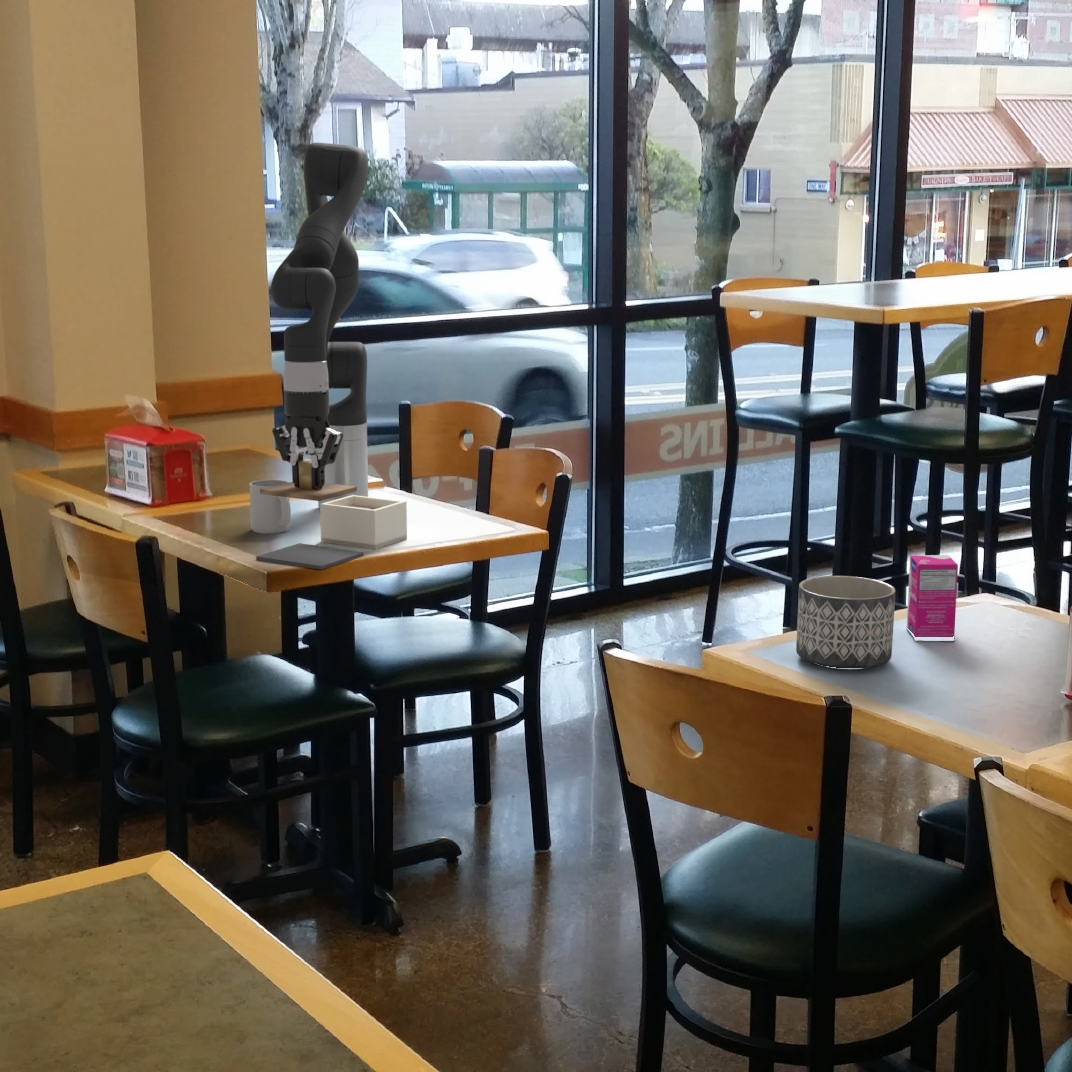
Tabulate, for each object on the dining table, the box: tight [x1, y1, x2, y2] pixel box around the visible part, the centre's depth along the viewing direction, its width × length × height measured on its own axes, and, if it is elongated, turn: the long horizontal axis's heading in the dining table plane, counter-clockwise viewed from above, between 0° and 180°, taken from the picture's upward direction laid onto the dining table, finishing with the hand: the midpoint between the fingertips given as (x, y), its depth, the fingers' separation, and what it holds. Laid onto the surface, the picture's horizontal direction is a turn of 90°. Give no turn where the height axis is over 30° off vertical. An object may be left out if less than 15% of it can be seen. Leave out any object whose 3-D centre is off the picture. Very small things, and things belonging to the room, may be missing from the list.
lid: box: [260, 460, 357, 502], centre depth 258 cm, size 13×11×5 cm
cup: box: [249, 479, 292, 535], centre depth 281 cm, size 7×10×9 cm
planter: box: [795, 575, 896, 669], centre depth 203 cm, size 13×13×10 cm
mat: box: [255, 542, 365, 570], centre depth 261 cm, size 14×12×1 cm
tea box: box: [319, 495, 408, 550], centre depth 274 cm, size 12×10×7 cm
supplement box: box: [906, 554, 959, 637], centre depth 215 cm, size 6×6×12 cm
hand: (308, 487), depth 259 cm, fingers closed on lid, 3 cm apart
